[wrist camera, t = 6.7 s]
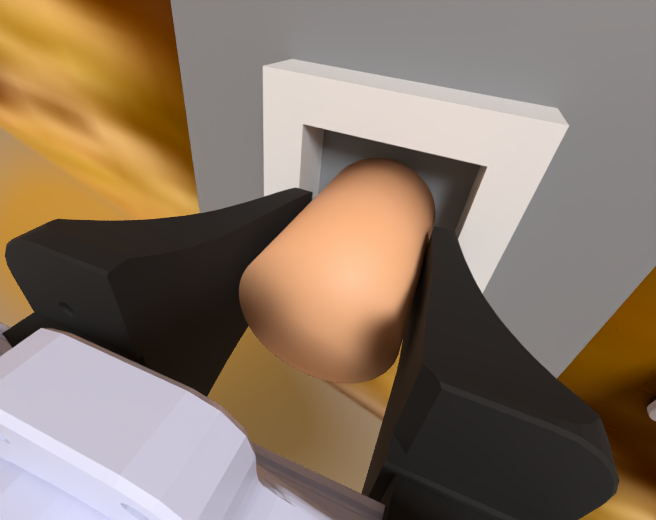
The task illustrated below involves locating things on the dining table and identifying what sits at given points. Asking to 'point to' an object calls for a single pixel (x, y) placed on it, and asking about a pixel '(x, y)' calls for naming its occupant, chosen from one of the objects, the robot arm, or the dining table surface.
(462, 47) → the dock board
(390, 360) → the peach rounded egg part
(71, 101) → the dining table surface
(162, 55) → the dining table surface
